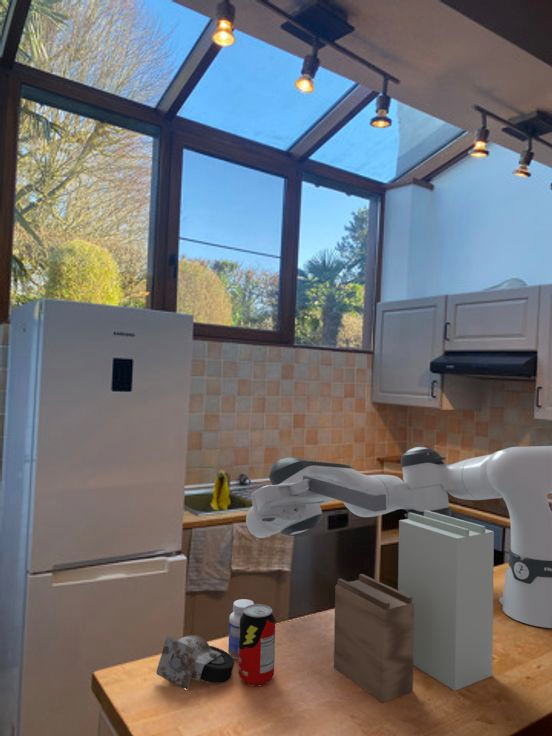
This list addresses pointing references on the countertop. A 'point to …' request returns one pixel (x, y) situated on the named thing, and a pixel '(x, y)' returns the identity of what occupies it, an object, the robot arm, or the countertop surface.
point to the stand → (449, 595)
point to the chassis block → (374, 637)
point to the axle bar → (347, 493)
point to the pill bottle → (236, 626)
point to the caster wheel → (193, 662)
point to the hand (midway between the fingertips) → (317, 481)
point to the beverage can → (257, 645)
